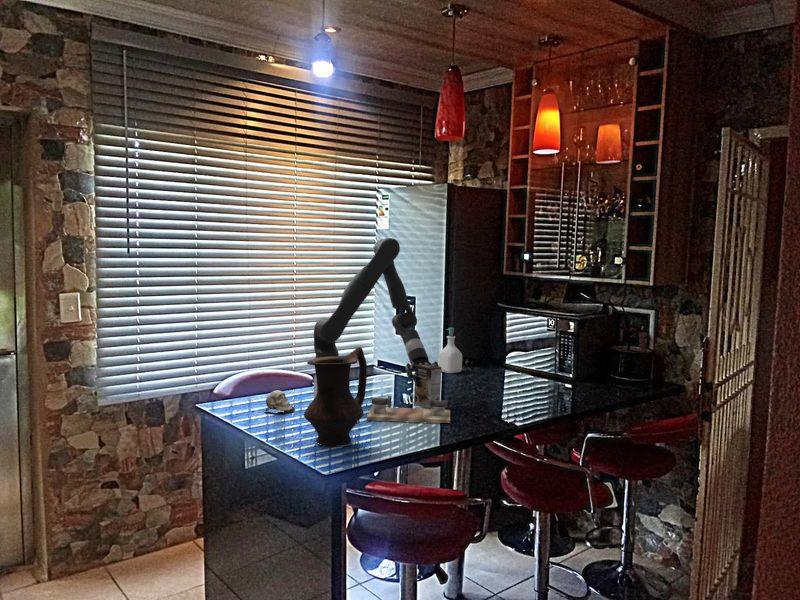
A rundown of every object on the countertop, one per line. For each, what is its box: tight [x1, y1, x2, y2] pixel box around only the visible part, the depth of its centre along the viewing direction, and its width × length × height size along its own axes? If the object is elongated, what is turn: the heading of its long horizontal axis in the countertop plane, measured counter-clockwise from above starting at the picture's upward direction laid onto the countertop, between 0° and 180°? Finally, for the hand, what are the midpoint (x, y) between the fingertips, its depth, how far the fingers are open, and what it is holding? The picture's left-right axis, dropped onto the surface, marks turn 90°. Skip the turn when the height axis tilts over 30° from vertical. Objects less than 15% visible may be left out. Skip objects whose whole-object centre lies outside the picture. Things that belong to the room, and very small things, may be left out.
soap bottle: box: [438, 327, 463, 374], centre depth 316 cm, size 10×10×23 cm
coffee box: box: [413, 364, 442, 409], centre depth 245 cm, size 9×6×16 cm
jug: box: [303, 346, 368, 447], centre depth 195 cm, size 21×18×30 cm
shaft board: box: [366, 395, 451, 424], centre depth 228 cm, size 30×14×8 cm, turn 85°
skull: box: [265, 389, 296, 413], centre depth 234 cm, size 12×10×10 cm
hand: (428, 385), depth 244 cm, fingers closed on coffee box, 8 cm apart
